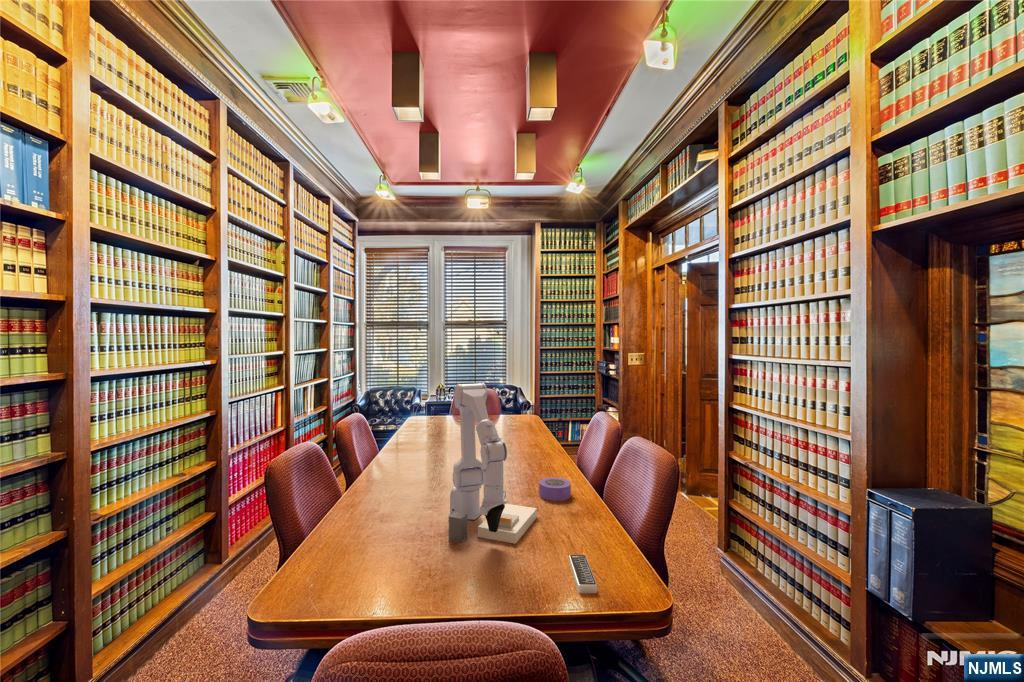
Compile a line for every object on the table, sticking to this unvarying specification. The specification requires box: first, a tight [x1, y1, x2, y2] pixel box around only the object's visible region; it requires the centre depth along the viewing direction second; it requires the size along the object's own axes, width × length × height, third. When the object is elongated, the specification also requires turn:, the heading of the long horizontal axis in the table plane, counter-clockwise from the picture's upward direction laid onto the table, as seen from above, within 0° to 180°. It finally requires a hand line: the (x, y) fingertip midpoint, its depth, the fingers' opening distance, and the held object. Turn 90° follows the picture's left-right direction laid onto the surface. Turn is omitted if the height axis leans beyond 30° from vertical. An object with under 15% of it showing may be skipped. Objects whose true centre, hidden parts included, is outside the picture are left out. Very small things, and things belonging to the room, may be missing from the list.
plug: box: [448, 512, 468, 544], centre depth 132 cm, size 4×4×7 cm
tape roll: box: [538, 477, 572, 502], centre depth 168 cm, size 12×12×5 cm
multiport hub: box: [568, 554, 598, 594], centre depth 112 cm, size 4×14×2 cm, turn 2°
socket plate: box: [477, 503, 538, 544], centre depth 141 cm, size 12×20×3 cm, turn 159°
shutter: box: [499, 513, 519, 528], centre depth 137 cm, size 7×7×3 cm
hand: (493, 530), depth 129 cm, fingers closed
